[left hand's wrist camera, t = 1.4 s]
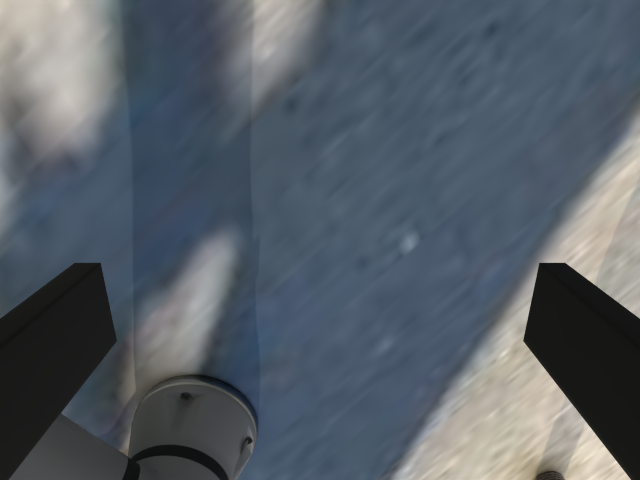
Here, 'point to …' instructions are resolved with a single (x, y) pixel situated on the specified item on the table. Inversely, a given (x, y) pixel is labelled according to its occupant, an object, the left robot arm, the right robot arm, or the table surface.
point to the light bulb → (550, 476)
